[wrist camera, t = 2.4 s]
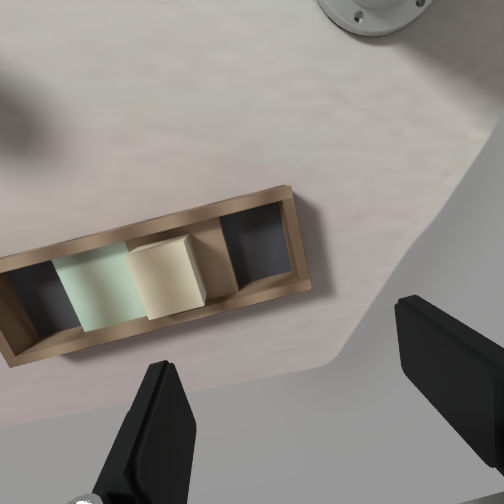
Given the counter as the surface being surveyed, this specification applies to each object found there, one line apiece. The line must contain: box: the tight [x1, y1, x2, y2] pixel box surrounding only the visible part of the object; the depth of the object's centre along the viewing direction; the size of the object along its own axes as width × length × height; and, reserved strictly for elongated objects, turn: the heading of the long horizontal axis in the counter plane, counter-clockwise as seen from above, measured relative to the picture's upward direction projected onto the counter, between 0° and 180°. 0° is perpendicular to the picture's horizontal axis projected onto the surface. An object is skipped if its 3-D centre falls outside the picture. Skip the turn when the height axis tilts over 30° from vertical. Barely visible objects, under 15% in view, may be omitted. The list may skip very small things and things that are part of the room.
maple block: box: [124, 233, 207, 320], centre depth 25 cm, size 5×6×4 cm
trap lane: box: [0, 185, 312, 368], centre depth 27 cm, size 30×10×4 cm, turn 104°
